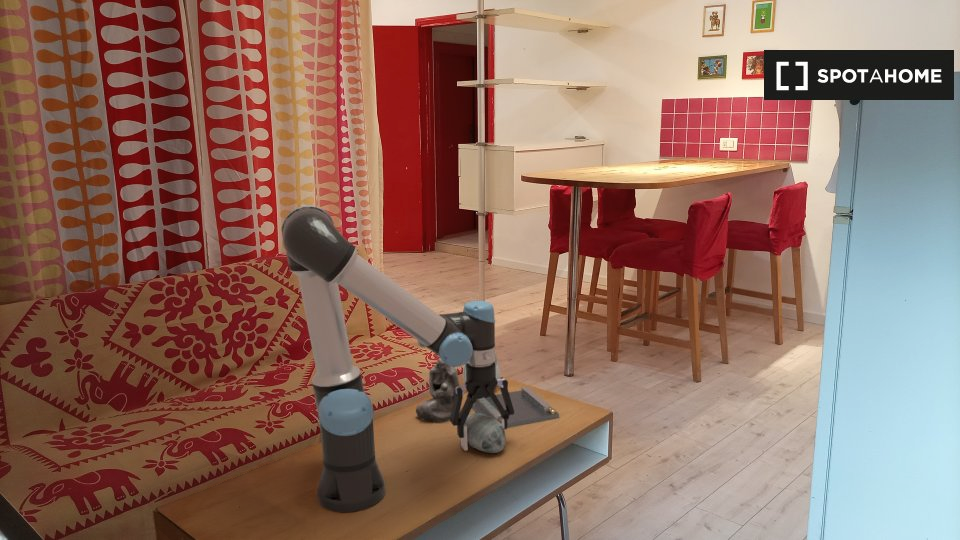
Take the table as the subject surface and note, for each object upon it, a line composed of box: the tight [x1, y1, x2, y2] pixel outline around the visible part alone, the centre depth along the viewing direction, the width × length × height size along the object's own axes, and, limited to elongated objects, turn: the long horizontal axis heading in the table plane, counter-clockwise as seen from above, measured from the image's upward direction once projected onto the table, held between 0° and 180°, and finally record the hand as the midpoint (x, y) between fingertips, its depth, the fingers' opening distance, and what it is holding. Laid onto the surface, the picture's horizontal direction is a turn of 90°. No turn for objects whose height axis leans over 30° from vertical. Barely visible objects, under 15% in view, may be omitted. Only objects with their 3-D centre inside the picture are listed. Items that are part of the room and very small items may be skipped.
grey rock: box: [465, 412, 507, 454], centre depth 186 cm, size 14×10×10 cm
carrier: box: [471, 386, 560, 429], centre depth 208 cm, size 20×20×3 cm
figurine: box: [415, 357, 462, 423], centre depth 205 cm, size 13×12×18 cm
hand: (483, 444), depth 186 cm, fingers closed on grey rock, 9 cm apart
